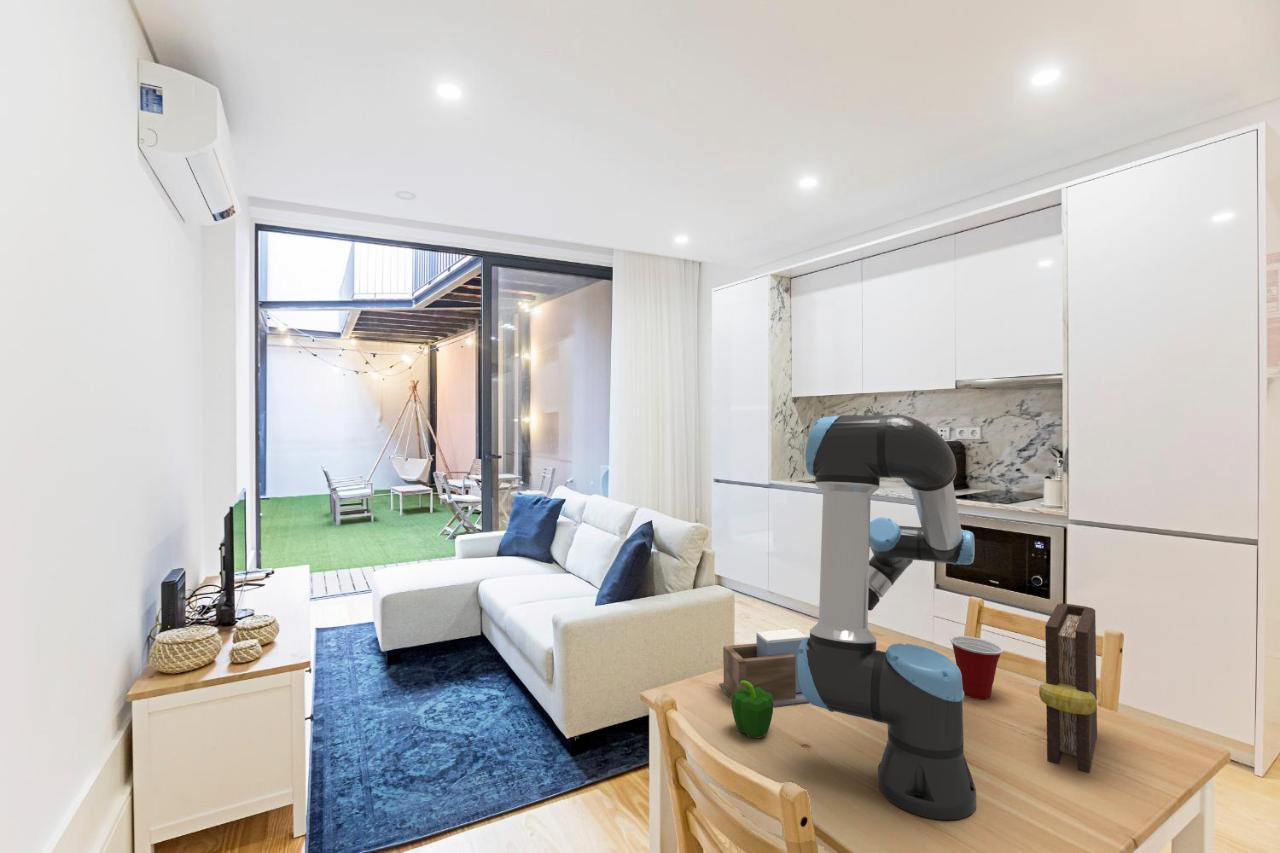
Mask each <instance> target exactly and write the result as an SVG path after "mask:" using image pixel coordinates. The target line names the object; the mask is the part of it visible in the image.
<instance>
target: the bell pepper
mask: <svg viewBox="0 0 1280 853" xmlns="http://www.w3.org/2000/svg"><path fill="white" fill-rule="evenodd" d="M740 684H741V685H742V686H743V685H745V686H747V687H748V688H749V690H747V689H743V688H739V689H738V690H737V691H736V693H734V694H733V697H732V700H731V711H732V716H733V720H734V723H735V726H736V728H737V730H738V731H739V732H740V733H741V734H742V733H744V734H745V735H746V736H747V737H749V738H756V739H757V738H759V739H760V738H763V737H764V736H766V735H767V733H768V731H769V729H770V726H771V722H772V719H773V718H772V717H773V714H774V707H773V696H772V694H771V693H770V692H765V691H764V690H762V689H761V688H759V687H757V688H754V687H753V685H752V684H751V683H750V682H748V681H745V680H743V681H740Z"/></svg>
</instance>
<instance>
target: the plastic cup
mask: <svg viewBox="0 0 1280 853" xmlns="http://www.w3.org/2000/svg"><path fill="white" fill-rule="evenodd" d="M949 639H950V640H949V641H950V643H951V645H952V649H953V653H954V658H955V664H956V665H957V666H958V667H959V669H960V671H961V675H962V686H963V691H964V696H966V697H968V698H971V699H975V700H987V699H990V697H991V695H992V691H993V684H994V682H995V676H996V672H997V667H998V663H999V659H1000V656H1001V654H1003V653H1004V649H1003V647H1002V646H1000V645H999V644H997V643H996V642H992V641H990V640H986V639H982V638H980V637H979V638H978V637H973V636H969V635H967V636H966V635H955V636H952V637H950V638H949Z"/></svg>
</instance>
